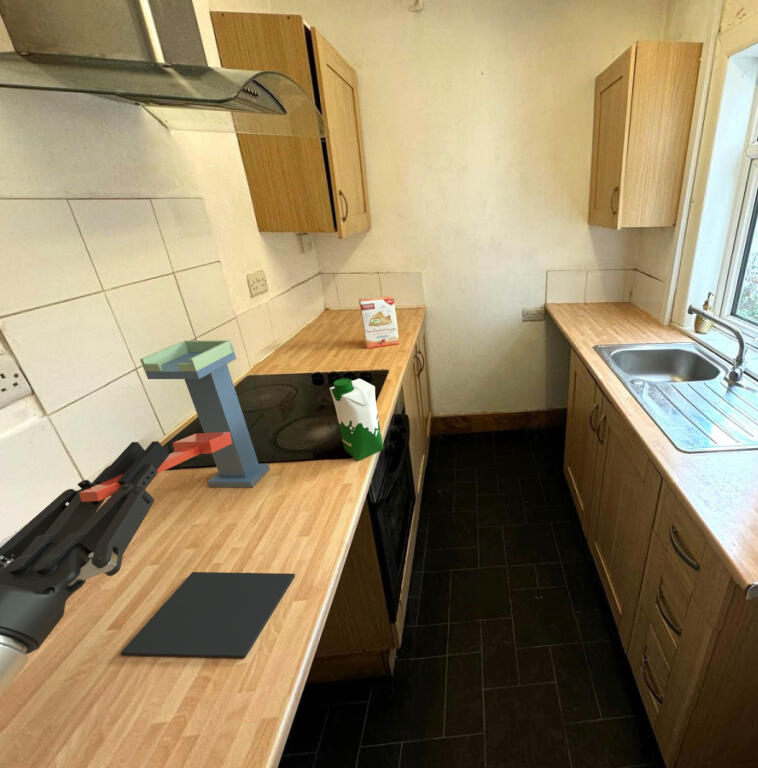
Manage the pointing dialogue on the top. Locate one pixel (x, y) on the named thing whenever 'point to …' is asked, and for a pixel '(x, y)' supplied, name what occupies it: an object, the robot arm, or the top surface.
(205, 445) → the red toy mallet
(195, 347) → the stand
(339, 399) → the milk carton
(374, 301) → the cracker box
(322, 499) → the top surface
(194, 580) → the mat
